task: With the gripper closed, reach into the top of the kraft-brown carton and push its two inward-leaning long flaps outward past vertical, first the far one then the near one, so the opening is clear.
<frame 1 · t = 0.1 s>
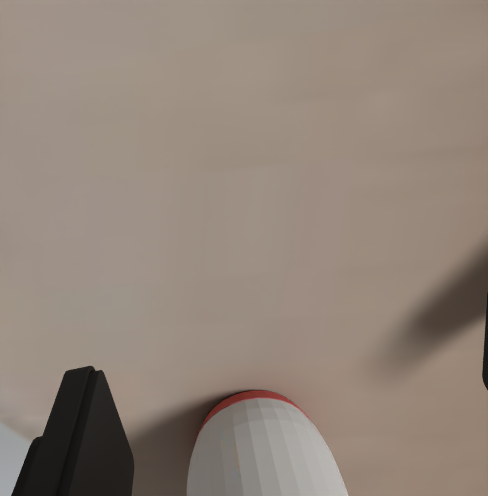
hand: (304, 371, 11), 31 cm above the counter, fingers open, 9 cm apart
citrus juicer: (257, 430, 53), on the counter
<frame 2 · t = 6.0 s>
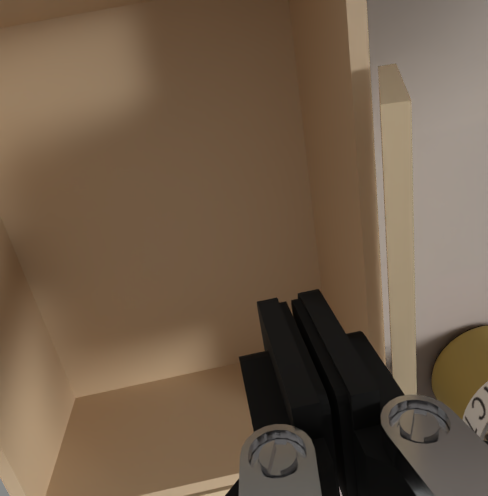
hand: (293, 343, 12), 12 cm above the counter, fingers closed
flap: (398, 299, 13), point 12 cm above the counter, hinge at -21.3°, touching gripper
paper tube: (475, 362, 30), on the counter
carton: (164, 215, 23), on the counter
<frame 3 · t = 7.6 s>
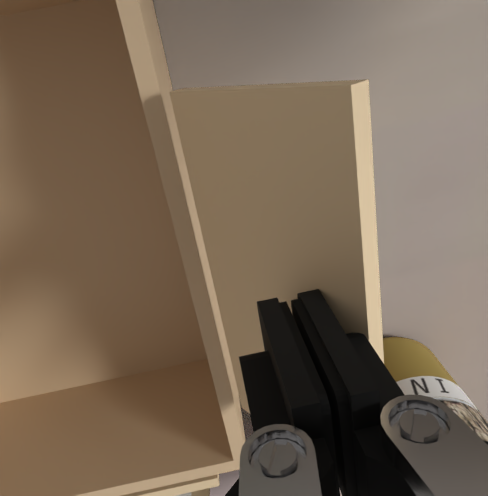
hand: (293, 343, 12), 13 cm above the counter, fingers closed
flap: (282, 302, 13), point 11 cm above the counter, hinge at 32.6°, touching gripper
paper tube: (380, 373, 30), on the counter
carton: (40, 230, 23), on the counter
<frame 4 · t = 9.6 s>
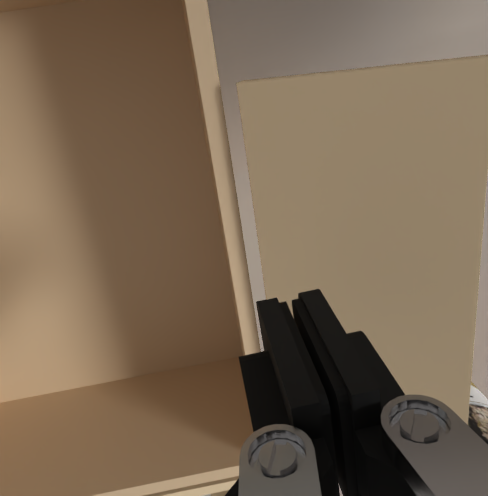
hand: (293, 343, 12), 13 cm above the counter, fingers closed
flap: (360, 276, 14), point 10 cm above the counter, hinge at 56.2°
paper tube: (398, 378, 30), on the counter
carton: (68, 224, 23), on the counter
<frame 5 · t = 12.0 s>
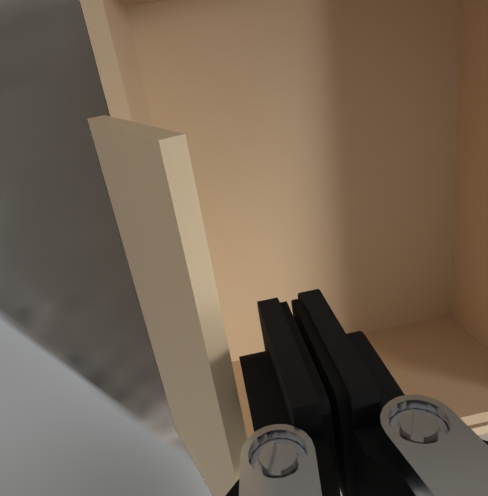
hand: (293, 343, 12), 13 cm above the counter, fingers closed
carton: (314, 185, 24), on the counter
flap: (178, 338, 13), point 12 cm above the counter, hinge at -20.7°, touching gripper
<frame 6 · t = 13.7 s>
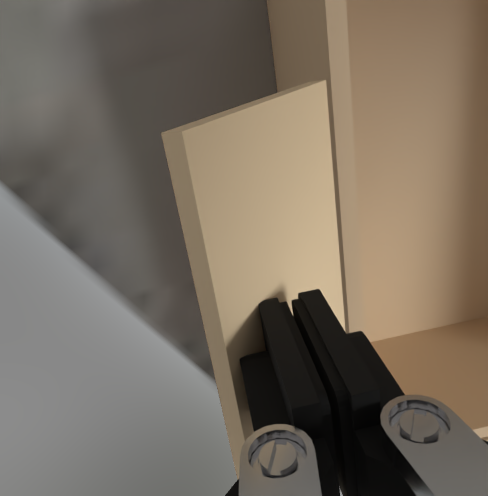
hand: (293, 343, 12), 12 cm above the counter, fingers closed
carton: (439, 167, 24), on the counter
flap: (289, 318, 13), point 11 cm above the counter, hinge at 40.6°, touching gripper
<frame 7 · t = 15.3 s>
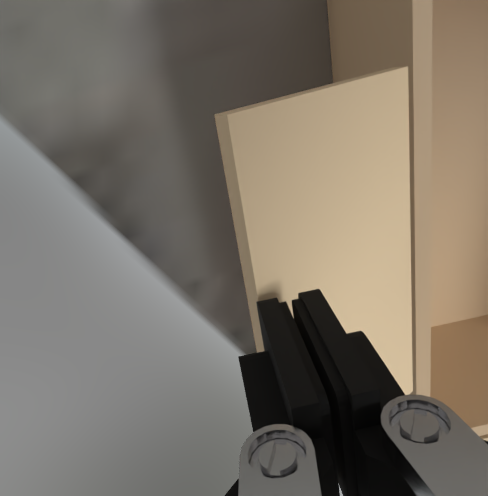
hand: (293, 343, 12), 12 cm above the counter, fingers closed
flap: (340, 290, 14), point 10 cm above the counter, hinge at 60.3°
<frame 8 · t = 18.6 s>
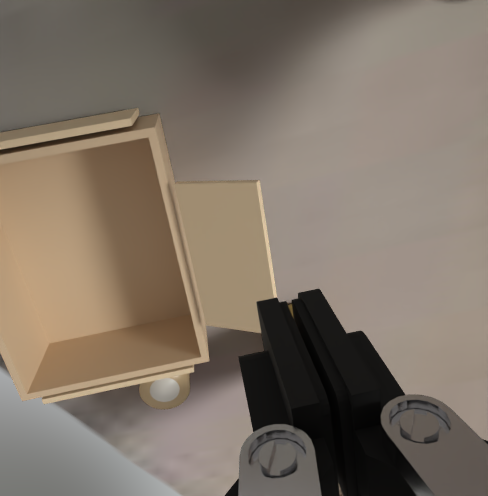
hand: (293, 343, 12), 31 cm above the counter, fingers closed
white-capped tan cylinder: (165, 359, 49), on the counter
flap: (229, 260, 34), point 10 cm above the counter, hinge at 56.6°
carton: (98, 239, 43), on the counter
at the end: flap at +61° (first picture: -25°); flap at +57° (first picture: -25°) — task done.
